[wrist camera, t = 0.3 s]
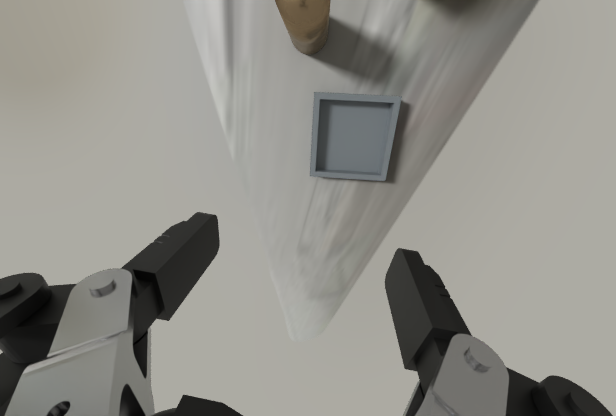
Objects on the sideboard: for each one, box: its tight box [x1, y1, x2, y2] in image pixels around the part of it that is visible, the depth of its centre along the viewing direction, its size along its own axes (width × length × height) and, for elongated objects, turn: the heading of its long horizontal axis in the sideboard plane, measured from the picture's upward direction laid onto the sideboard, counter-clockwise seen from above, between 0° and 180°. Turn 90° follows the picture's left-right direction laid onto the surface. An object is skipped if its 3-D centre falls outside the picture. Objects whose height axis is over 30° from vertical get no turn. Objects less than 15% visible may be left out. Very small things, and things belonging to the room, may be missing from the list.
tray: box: [310, 92, 402, 181], centre depth 33 cm, size 12×12×2 cm
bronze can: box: [275, 0, 330, 54], centre depth 24 cm, size 5×5×11 cm
